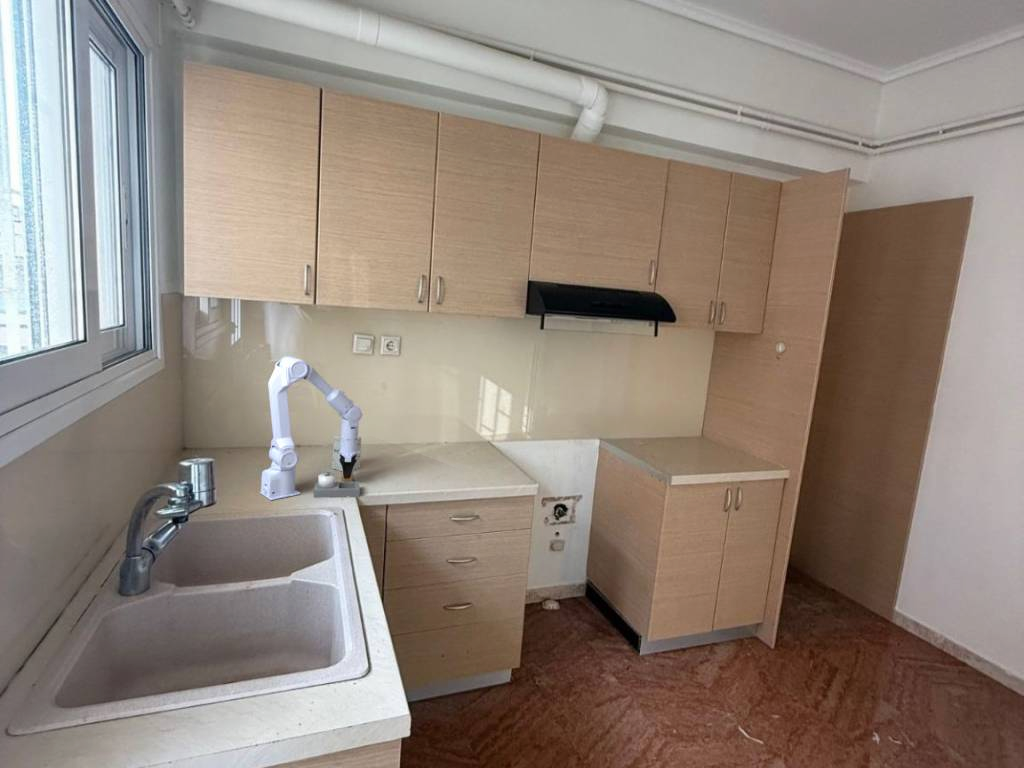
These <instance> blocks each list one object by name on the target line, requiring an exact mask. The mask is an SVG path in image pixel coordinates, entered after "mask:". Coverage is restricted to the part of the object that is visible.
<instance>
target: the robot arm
mask: <svg viewBox="0 0 1024 768" xmlns="http://www.w3.org/2000/svg"><path fill="white" fill-rule="evenodd" d="M274 365H275V366H274V370H273V372H272V374H271V376H270V378H269V379H268V383H267V386H268V387H267V388H268V397H269V406H270V409H269V410H270V417H271V418H270V419H271V428H272V435H273V436H272V437H273V438H272V439H271V441H270V448H269V452H268V456H269V459H270V460H271V461H272V462H271V465H270V467H269V468H267V469H264V470H262V472H261V482H260V483H261V486H260V488H261V489H260V493H259V494H261V495H262V496H264V497H265V498H266V499H268V500H269V501H274V500H279V499H284V498H289V497H293V496H298V495H301V492H300V491H298V490H296V465H297V464H298V463H299V459H300V458H299V457H300V456H299V453H298V452H297V451H296V447H295V446H296V445H295V444H294V441H293V439H292V432H291V421H290V412H289V411H290V410H289V399H288V397H289V396H288V389H289V388H290V387H291V386H292V385H293V384H294V383H296V382H298V381H300V380H302V379H303V380H305V381H309V382H310V384H312V385H313V386H315V387H316V388H317V389H318V390H319V391H320V392H321V393H322V394H323V395H324V399H325V402H326V403H327V404H328V405H329V406H330V407H332V408H333V409H334V410H335V411H336V413H338V416H339V417H341V419H340V420H341V422H340V435H341V438H340V450H339V453H340V457H341V458H340V459H339V461H340V463H341V466H342V469H343V477H344V479H350V477H351V474H352V470H353V467H354V464H355V463H356V461H357V459H355V458H356V456H357V453H360V452H361V451H362V450H361V451H360V450H357V443H358V437H359V426H360V421H361V419H362V417H363V412H362V409H361V408H360V407H359V406H358V405H355V404H354V400H353V399H350V398H349V397H348V396H346V395H345V391H344V390H343V389H339V388H333V387H332V386H331V385H330V384H329V383H328V382H327V381H326V380H325V378H323V376H322V375H321V374H320V373H319V372H318V371H317V370H316V369H315V368H314V367H313V366H311V365H310V364H308V363H307V361H305V360H304V359H302V358H301V359H300V358H297V357H295V356H292V355H285V356H283V357H281V359H280V360H278V361H277V362H276V363H275V364H274ZM360 454H361V453H360ZM353 471H354V470H353Z"/></svg>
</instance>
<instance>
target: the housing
mask: <svg viewBox="0 0 1024 768" xmlns="http://www.w3.org/2000/svg"><path fill="white" fill-rule="evenodd" d="M317 479H318V481H315V483H314V488H313V498H314V497H330V498H348V497H347V496H351V497H350V498H360V481H350V482H343V481H336V474H334V473H330V472H329V471H324V472H323V473H320V474H318V477H317Z"/></svg>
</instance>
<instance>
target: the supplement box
mask: <svg viewBox="0 0 1024 768" xmlns="http://www.w3.org/2000/svg"><path fill="white" fill-rule="evenodd" d="M340 438H341V434H339V435H334V436H333V449H332V463H331V465H332V466H331V468H332V470H333V469H334V470H337V471H340V472H342V466H341V463H340V461H339V459H340V458H341V457H340V453H339V450H340ZM361 449H362V437H361V436H358V443H357V450H360V451H362V450H361ZM361 454H362V453H361V452H360V453H357V456H356V458H355V459H357V461H356V463H355V464H354V467H353V471H355V470H359V469H360V465H361Z"/></svg>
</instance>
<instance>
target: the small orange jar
mask: <svg viewBox="0 0 1024 768" xmlns="http://www.w3.org/2000/svg"><path fill="white" fill-rule="evenodd" d="M353 473H354V470H352V474H351V477H350V479H344V477H343V469H342V471H341V482H353V476H354V474H353Z"/></svg>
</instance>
